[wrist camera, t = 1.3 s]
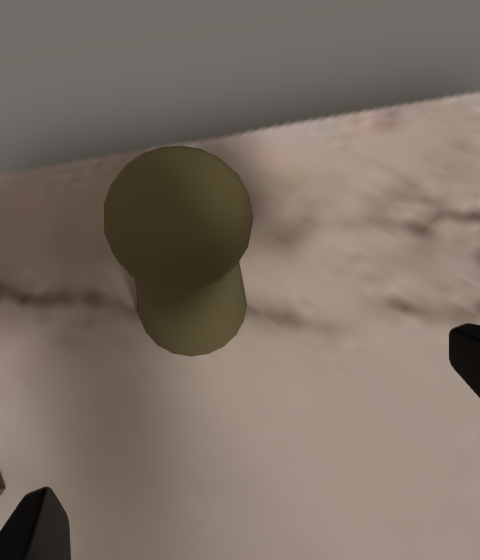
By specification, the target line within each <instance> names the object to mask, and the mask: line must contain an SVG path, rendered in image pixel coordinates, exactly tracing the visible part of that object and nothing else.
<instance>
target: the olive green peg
mask: <svg viewBox="0 0 480 560" xmlns="http://www.w3.org/2000/svg"><path fill="white" fill-rule="evenodd" d="M252 222H253V215H252V209H251V203H250V198H249V195H248V192H247V190H246V188H245V186H244V185H243V183H242V181H241V179H240V178H239V176H238V174H237V173H236V172H234V171H233V170H232V169H231V168H230V167H229V166H228V165H227V164H226V163H224V162H223V161H222V160H221V159H219V158H218V157H216V156H214V155H212V154H210V153H208V152H205V151H203V150H201V149H197V148H191V147H185V146H172V147H161V148H158V149H155V150H152V151H149V152H147V153H144V154H142V155H140V156H139V157H137V158H136V159H134V160H133V161H132V162H130V163H129V164H127V165H126V166H125V168H124V169H123V170H122V171H121V173H120V174H119V175H118V176H117V178H116V179H115V180H114V182H113V183H112V184H111V186H110V189H109V191H108V194H107V197H106V200H105V203H104V227H105V235H106V238H107V240H108V242H109V245H110V247H111V250H112V252H113V254H114V256H115V257H116V259H117V261H118V262H119V263H120V264H121V265H122V266H123V267H124V268H125V269H126V270H127V271H128V272H129V273H130V274H131V275H132V276H133V277H135V283H136V291H137V299H138V306H139V314H140V319H141V321H142V323H143V326H144V328H145V331H146V333H147V334H148V335H149V336H150V337H151V338H152V339H153V340H154V341H155V343H156V344H157V345H159V346H161V347H162V348H164V349H166V350H168V351H170V352H172V353H175V354H180V355H186V356H196V355H204V354H209V353H211V352H213V351H215V350H217V349H219V348H221V347H223V346H225V345H226V344H227V343H228V342H229V341H230V340H231V339H232V338H233V337H234V336H235V335H236V334H237V332H238V330H239V328H240V327H241V325H242V323H243V321H244V317H245V311H246V306H247V303H246V297H245V290H244V285H243V280H242V274H241V269H240V264H239V261H240V259H241V257H242V256H243V254H244V252H245V251H246V249H247V247H248V244H249V239H250V233H251V228H252Z"/></svg>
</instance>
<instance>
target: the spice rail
mask: <svg viewBox="0 0 480 560" xmlns="http://www.w3.org/2000/svg"><path fill="white" fill-rule="evenodd" d="M5 489H6V488H5V487H4V486H3V485H1V484H0V495H1V494H2V492H3V491H4V490H5Z"/></svg>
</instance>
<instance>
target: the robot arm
mask: <svg viewBox="0 0 480 560" xmlns="http://www.w3.org/2000/svg"><path fill="white" fill-rule="evenodd" d="M449 360H450V363H451V365H452V367H453V368H454V369H455V371H456V372H457V373H458V374H459V375H460V376H461V377H462V378H463V380H464V381H465V382H466V383H467V384H468V385H469V386H470V387H471V389H472V390H473V391H474V392H475V393H476V394H477V395H478V396H479V398H480V325H475V324H470V323H466V324H463V325H460V326H457V327H455V328H453V329H451V331H450V333H449ZM0 560H71V549H70V530H69V520H68V516H67V514H66V512H65V510H64V508H63V507H62V505H61V503H60V502H59V500H58V498H57V497H56V495H55V493H54V492H53V490H52V489H51V488H50V487H43V488H40V489H38V490H35V491H32V492H30V493H28V494H26V495H25V496H24V497H23V499H22V500H21V502H20V503H19V504H18V506H17V507H16V509H15V510H14V512H13V513H12V515H11V516H10V518H9V519H8V520H7V522H6V523H5V525H4V526H3V528H2V529H1V531H0Z"/></svg>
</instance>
